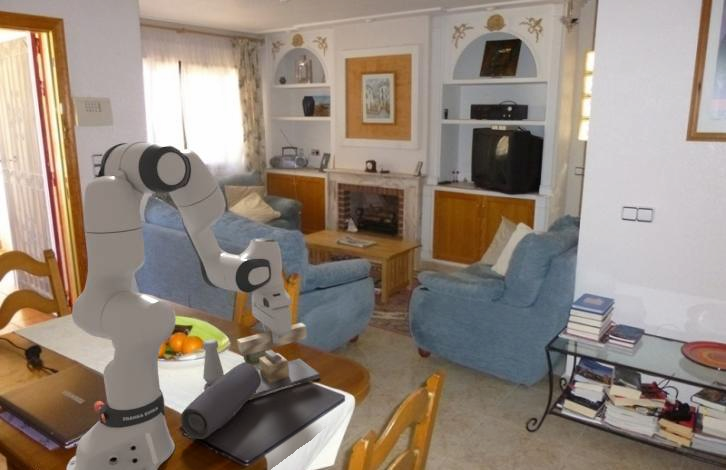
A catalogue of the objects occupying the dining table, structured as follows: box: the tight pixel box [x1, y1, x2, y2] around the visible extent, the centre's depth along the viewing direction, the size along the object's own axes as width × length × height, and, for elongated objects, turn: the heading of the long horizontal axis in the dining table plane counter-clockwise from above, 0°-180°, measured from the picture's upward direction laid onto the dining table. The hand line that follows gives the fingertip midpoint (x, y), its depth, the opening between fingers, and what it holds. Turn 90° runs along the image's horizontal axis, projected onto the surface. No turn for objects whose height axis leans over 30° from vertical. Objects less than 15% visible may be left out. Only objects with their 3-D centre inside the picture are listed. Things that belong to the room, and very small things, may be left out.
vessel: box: [242, 348, 271, 366], centre depth 173 cm, size 12×9×6 cm
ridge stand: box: [255, 349, 321, 394], centre depth 158 cm, size 22×13×8 cm, turn 123°
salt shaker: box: [202, 338, 225, 386], centre depth 158 cm, size 6×6×13 cm
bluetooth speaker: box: [180, 362, 261, 440], centre depth 138 cm, size 23×9×10 cm, turn 159°
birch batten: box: [236, 322, 308, 357], centre depth 157 cm, size 20×3×4 cm, turn 123°
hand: (272, 339), depth 157 cm, fingers closed on birch batten, 3 cm apart
